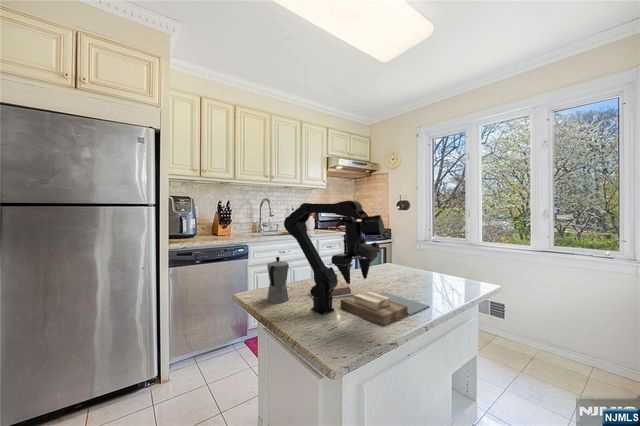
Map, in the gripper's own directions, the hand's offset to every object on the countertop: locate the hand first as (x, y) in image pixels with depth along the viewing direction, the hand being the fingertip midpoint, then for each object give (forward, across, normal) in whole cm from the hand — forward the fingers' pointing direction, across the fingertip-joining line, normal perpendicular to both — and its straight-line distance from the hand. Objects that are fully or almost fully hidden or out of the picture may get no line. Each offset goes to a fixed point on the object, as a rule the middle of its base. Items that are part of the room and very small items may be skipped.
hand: (357, 281), depth 91 cm
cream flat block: (+10, +8, 0) cm, 13 cm away
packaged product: (+12, +10, +25) cm, 29 cm away
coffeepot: (+10, -11, +35) cm, 38 cm away
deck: (+13, +9, +1) cm, 16 cm away
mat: (+13, +22, 0) cm, 26 cm away
